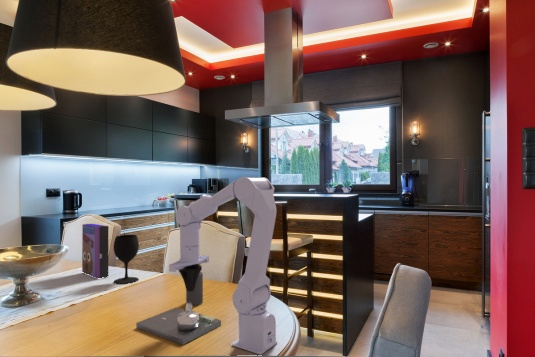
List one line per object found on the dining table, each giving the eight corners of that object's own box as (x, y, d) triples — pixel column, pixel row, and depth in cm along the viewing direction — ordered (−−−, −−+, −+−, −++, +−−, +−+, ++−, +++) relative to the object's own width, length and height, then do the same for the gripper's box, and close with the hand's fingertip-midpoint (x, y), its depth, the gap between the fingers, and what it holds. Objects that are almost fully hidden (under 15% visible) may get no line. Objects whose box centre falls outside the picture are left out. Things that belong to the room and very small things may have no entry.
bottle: (195, 299, 124) (195, 258, 125) (206, 302, 121) (206, 260, 121) (182, 303, 120) (182, 261, 120) (193, 307, 116) (193, 263, 117)
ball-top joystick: (198, 328, 94) (198, 315, 94) (176, 330, 93) (176, 317, 93) (198, 312, 106) (198, 301, 106) (179, 314, 105) (179, 302, 105)
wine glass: (136, 276, 157) (136, 233, 157) (140, 281, 148) (140, 236, 148) (112, 280, 151) (112, 235, 152) (115, 285, 143) (115, 238, 143)
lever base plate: (221, 325, 101) (221, 316, 101) (182, 345, 88) (182, 335, 88) (175, 311, 112) (175, 304, 112) (136, 328, 99) (136, 319, 99)
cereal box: (82, 273, 164) (82, 224, 165) (92, 271, 168) (92, 223, 168) (97, 279, 153) (97, 226, 153) (108, 277, 156) (108, 225, 157)
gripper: (197, 241, 110) (197, 282, 110) (161, 248, 98) (162, 295, 98) (213, 242, 106) (214, 285, 106) (178, 250, 94) (179, 299, 94)
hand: (190, 290), depth 101 cm, fingers closed
